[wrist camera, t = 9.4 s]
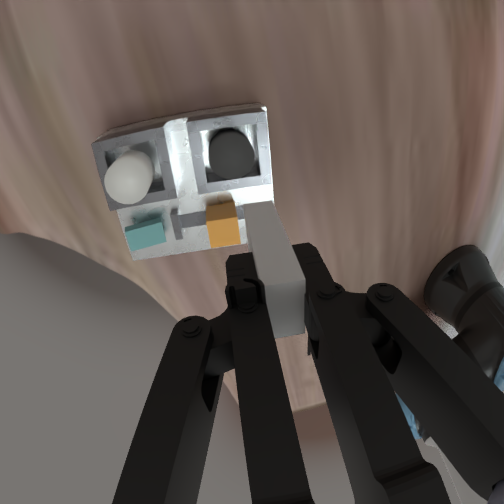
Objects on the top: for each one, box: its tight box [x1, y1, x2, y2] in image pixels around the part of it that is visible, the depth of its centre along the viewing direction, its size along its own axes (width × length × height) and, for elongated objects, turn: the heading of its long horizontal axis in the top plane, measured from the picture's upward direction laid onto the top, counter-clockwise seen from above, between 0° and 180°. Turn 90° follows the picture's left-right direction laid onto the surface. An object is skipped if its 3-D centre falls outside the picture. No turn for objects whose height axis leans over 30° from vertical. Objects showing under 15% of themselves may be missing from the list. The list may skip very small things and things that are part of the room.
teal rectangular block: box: [125, 217, 167, 252], centre depth 32 cm, size 2×4×1 cm, turn 96°
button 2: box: [208, 129, 255, 179], centre depth 28 cm, size 4×4×3 cm
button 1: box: [104, 150, 155, 204], centre depth 26 cm, size 4×4×3 cm
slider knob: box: [206, 202, 241, 248], centre depth 32 cm, size 3×3×4 cm
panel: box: [92, 103, 274, 261], centre depth 32 cm, size 15×17×7 cm
